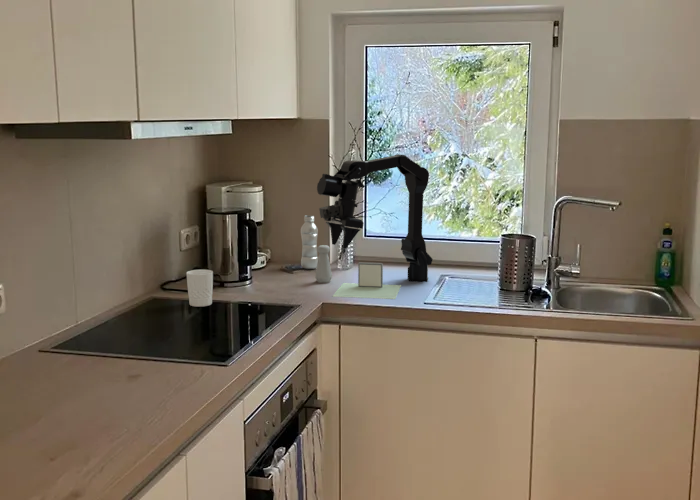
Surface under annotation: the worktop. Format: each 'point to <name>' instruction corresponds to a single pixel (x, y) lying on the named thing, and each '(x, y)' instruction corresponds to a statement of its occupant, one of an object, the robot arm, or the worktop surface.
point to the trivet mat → (367, 291)
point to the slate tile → (370, 274)
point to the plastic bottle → (309, 243)
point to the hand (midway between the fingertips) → (339, 246)
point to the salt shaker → (323, 265)
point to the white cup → (200, 287)
